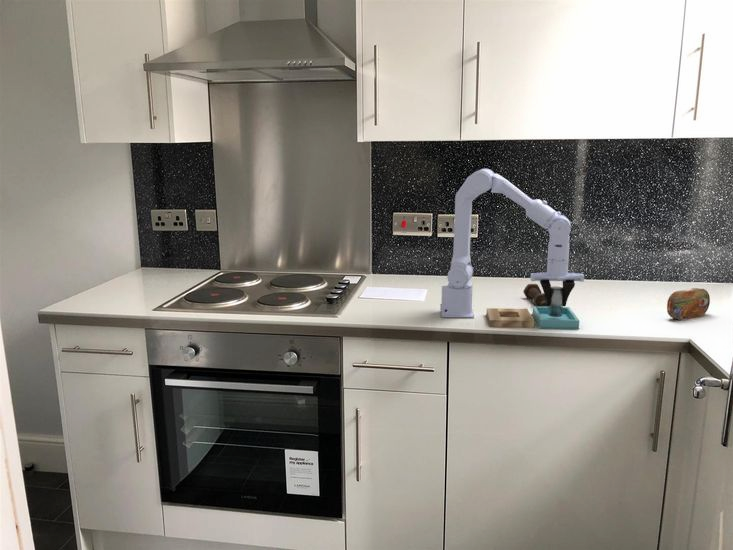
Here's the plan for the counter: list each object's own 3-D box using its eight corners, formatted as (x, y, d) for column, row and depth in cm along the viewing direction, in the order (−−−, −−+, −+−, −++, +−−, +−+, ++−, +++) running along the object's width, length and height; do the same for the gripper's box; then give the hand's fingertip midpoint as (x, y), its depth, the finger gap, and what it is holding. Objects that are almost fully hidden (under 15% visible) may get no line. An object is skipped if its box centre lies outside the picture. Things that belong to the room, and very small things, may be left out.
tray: (539, 328, 174) (540, 320, 174) (532, 314, 187) (532, 306, 187) (578, 329, 173) (579, 320, 172) (568, 315, 186) (569, 306, 186)
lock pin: (549, 316, 178) (550, 289, 176) (546, 312, 182) (548, 286, 180) (563, 317, 178) (565, 289, 176) (560, 313, 181) (562, 286, 180)
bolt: (542, 316, 192) (528, 302, 206) (557, 308, 191) (542, 294, 206) (534, 301, 190) (520, 287, 205) (548, 293, 190) (534, 280, 204)
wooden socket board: (489, 326, 176) (490, 320, 176) (486, 314, 188) (486, 308, 188) (533, 327, 175) (533, 320, 175) (527, 315, 187) (527, 308, 186)
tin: (672, 322, 178) (675, 293, 176) (663, 319, 181) (666, 291, 179) (709, 315, 184) (712, 287, 182) (700, 312, 187) (703, 285, 185)
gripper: (534, 261, 173) (531, 308, 176) (587, 262, 171) (584, 309, 174) (530, 256, 180) (528, 302, 183) (581, 257, 178) (579, 302, 181)
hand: (555, 305), depth 179 cm, fingers closed on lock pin, 4 cm apart
